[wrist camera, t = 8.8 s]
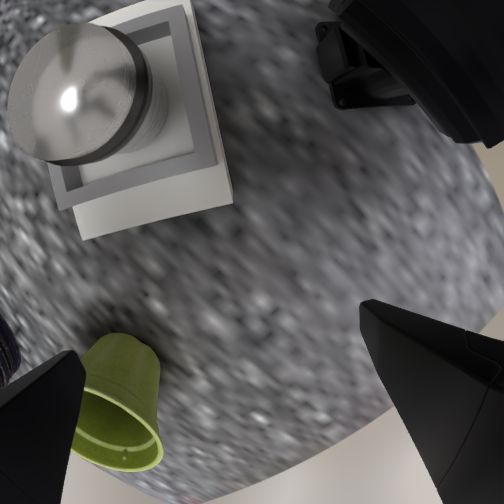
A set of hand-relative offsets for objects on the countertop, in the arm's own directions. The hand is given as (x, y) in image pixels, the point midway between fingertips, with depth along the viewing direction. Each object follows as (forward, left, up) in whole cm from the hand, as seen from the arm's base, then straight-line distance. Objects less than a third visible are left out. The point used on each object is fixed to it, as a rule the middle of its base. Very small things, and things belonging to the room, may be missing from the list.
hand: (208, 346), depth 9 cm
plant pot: (+11, +9, -13) cm, 19 cm away
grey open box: (+3, -9, -13) cm, 16 cm away
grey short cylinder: (+3, -9, -9) cm, 13 cm away
